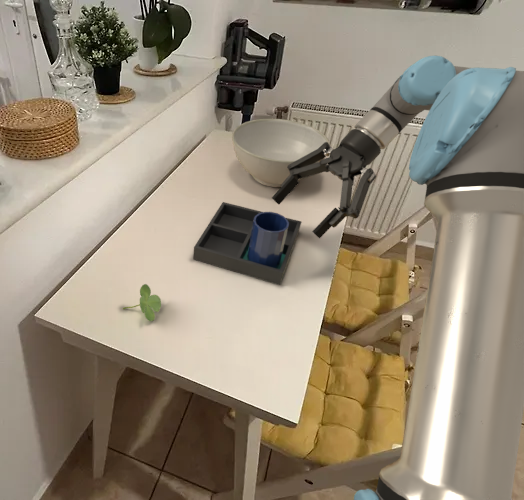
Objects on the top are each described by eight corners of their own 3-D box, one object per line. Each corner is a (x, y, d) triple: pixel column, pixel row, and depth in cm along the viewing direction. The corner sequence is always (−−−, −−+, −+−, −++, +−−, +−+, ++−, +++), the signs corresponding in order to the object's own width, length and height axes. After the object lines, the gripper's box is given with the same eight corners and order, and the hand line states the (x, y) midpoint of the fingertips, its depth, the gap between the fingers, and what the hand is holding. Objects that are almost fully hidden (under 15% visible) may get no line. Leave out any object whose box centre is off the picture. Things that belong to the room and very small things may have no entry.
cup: (286, 266, 95) (296, 226, 88) (259, 276, 92) (267, 235, 85) (266, 247, 100) (274, 208, 93) (240, 256, 97) (247, 216, 90)
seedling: (139, 325, 89) (165, 318, 86) (115, 328, 82) (143, 321, 79) (132, 291, 90) (158, 283, 87) (108, 292, 83) (135, 283, 80)
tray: (280, 285, 92) (283, 273, 89) (193, 259, 98) (193, 247, 95) (298, 233, 106) (301, 221, 103) (221, 213, 112) (222, 201, 109)
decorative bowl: (327, 204, 116) (338, 164, 108) (227, 197, 117) (232, 157, 110) (312, 157, 136) (321, 121, 128) (228, 152, 138) (232, 115, 130)
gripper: (422, 176, 82) (341, 257, 86) (331, 126, 99) (268, 196, 103) (414, 156, 76) (328, 244, 81) (319, 107, 93) (252, 181, 98)
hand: (294, 217), depth 92 cm, fingers open, 13 cm apart
